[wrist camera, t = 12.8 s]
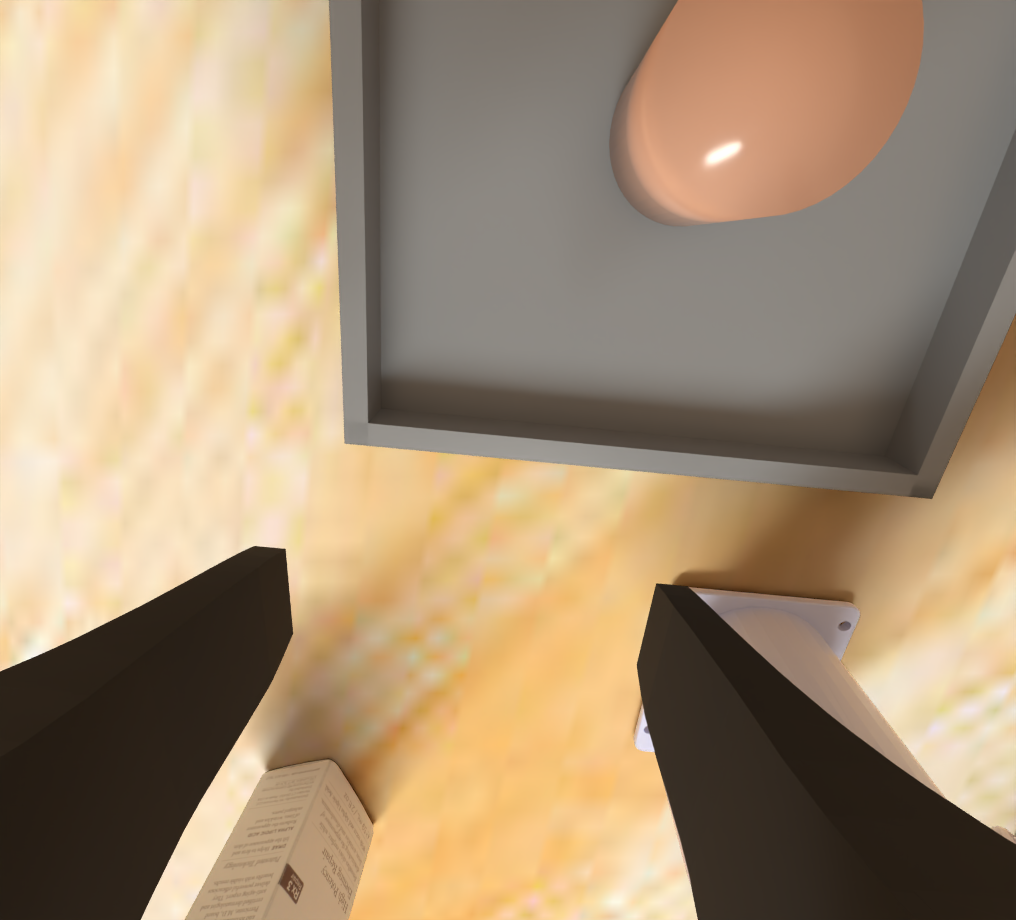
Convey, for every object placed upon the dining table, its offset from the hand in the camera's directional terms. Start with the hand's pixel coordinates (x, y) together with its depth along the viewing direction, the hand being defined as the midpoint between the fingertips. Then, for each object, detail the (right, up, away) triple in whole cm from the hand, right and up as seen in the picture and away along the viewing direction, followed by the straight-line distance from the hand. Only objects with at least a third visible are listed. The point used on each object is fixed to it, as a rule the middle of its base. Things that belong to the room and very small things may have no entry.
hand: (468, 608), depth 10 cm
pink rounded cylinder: (+6, +12, +5) cm, 15 cm away
